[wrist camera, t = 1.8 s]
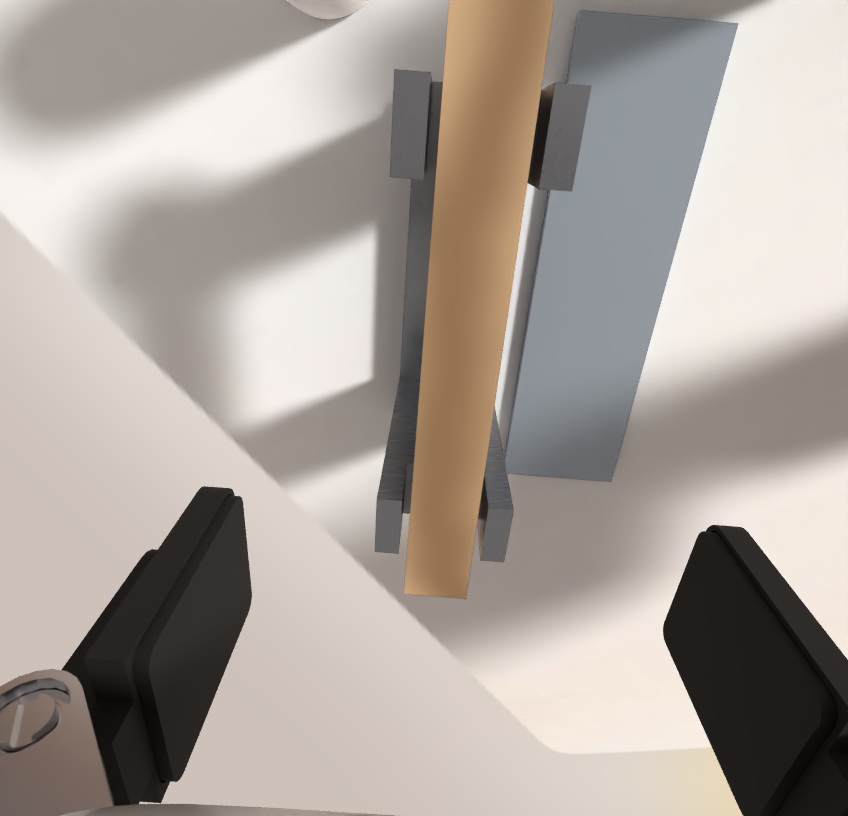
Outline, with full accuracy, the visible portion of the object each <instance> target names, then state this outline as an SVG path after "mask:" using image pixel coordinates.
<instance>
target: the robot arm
mask: <svg viewBox="0 0 848 816" xmlns="http://www.w3.org/2000/svg"><path fill="white" fill-rule="evenodd" d="M251 598H252V592H251V581H250V571H249V561H248V550H247V540H246V529H245V519H244V509H243V501H242V498H241V497H240V496H234V492H233V490H232V489H230V488H218V487H205V486H204V487H201V488H200V489H199V491H198V492H197V493H196V495H195V496H194V498H193V499H192V501H191V502H190V504H189V505H188V507H187V508H186V509H185V511H184V512H183V514H182V515H181V517H180V518H179V520H178V521H177V523H176V524H175V526H174V527H173V528H172V530H171V531H170V533H169V534H168V536H167V537H166V539H165V540H164V542H163V543H162V545H161V546H160V547H159V549H158V550H153V549H152V550H150V551H148V552H146V553H145V555H144V556H143V557H142V558H141V559H140V561H139V562H138V563H137V565H136V566H135V567H134V569H133V570H132V572H131V573H130V574H129V576H128V577H127V579H126V580H125V582H124V583H123V584H122V586H121V587H120V589H119V590H118V592H117V593H116V594H115V596H114V597H113V598H112V600H111V601H110V603H109V604H108V605H107V607H106V608H105V610H104V611H103V612H102V614H101V615H100V617H99V618H98V619H97V621H96V622H95V624H94V625H93V626H92V628H91V629H90V631H89V632H88V633H87V635H86V636H85V638H84V639H83V641H82V642H81V643H80V645H79V646H78V648H77V649H76V650H75V652H74V653H73V655H72V656H71V657H70V659H69V660H68V662H67V663H66V665H65V666H64V667H63V669H62V670H55V669H49V670H41V671H35V672H32V673H29V674H26V675H23V676H20V677H17V678H15V679H13V680H12V681H10V682H8V683H6V684H4V685H2V686H0V816H393V815H377V814H361V813H346V812H331V811H315V810H300V809H284V808H262V807H240V806H217V805H197V804H196V805H195V804H139V802H154V803H161V802H162V799H163V797H164V794H165V792H166V790H167V787H168V785H169V783H170V781H175V782H177V781H178V780H179V779H180V778H181V777H182V775H183V773H184V771H185V768H186V766H187V763H188V761H189V758H190V756H191V753H192V751H193V748H194V746H195V743H196V741H197V738H198V736H199V733H200V731H201V729H202V726H203V724H204V721H205V719H206V716H207V714H208V711H209V708H210V706H211V704H212V701H213V699H214V696H215V694H216V691H217V689H218V686H219V684H220V682H221V679H222V677H223V674H224V672H225V669H226V666H227V664H228V662H229V659H230V657H231V654H232V652H233V649H234V647H235V644H236V642H237V639H238V637H239V634H240V632H241V630H242V627H243V625H244V622H245V619H246V617H247V615H248V612H249V609H250V605H251ZM663 635H664V640H665V643H666V645H667V647H668V650H669V652H670V654H671V656H672V659H673V661H674V663H675V665H676V668H677V670H678V672H679V674H680V677H681V679H682V681H683V683H684V686H685V688H686V690H687V692H688V694H689V697H690V699H691V701H692V703H693V706H694V708H695V710H696V712H697V715H698V717H699V719H700V721H701V724H702V726H703V728H704V730H705V732H706V735H707V737H708V739H709V741H710V744H711V746H712V748H713V750H714V752H715V755H716V757H717V759H718V761H719V764H720V766H721V768H722V770H723V773H724V775H725V777H726V779H727V782H728V784H729V786H730V788H731V791H732V793H733V795H734V797H735V800H736V802H737V804H738V806H739V809H740V810H741V812H742V814H743V816H848V660H847V658H846V657H845V656H844V655H843V653H842V652H841V651H840V649H839V648H838V647H837V646H836V644H835V643H834V642H833V640H832V639H831V638H830V637H829V635H828V634H827V633H826V632H825V630H824V629H823V628H822V626H821V625H820V624H819V623H818V621H817V620H816V619H815V617H814V616H813V615H812V614H811V612H810V611H809V610H808V609H807V607H806V606H805V605H804V603H803V602H802V601H801V600H800V598H799V597H798V596H797V594H796V593H795V592H794V591H793V589H792V588H791V587H790V585H789V584H788V583H787V582H786V580H785V579H784V578H783V577H782V575H781V574H780V573H779V571H778V570H777V569H776V568H775V566H774V565H773V564H772V562H771V561H770V560H769V559H768V557H767V556H766V555H765V554H764V552H763V551H762V550H761V548H760V547H759V546H758V545H757V543H756V542H755V541H754V539H753V538H752V537H751V536H750V534H749V533H748V532H747V531H746V530H745V529H744V528H741V527H733V526H720V525H712V526H710V527H709V528H707V530H706V532H705V531H704V532H701V533H700V534H699V535H698V537H697V539H696V542H695V545H694V547H693V550H692V552H691V555H690V558H689V560H688V563H687V565H686V568H685V570H684V573H683V576H682V578H681V581H680V583H679V586H678V589H677V591H676V594H675V596H674V599H673V601H672V604H671V607H670V609H669V612H668V614H667V617H666V620H665V622H664V626H663Z"/></svg>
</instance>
